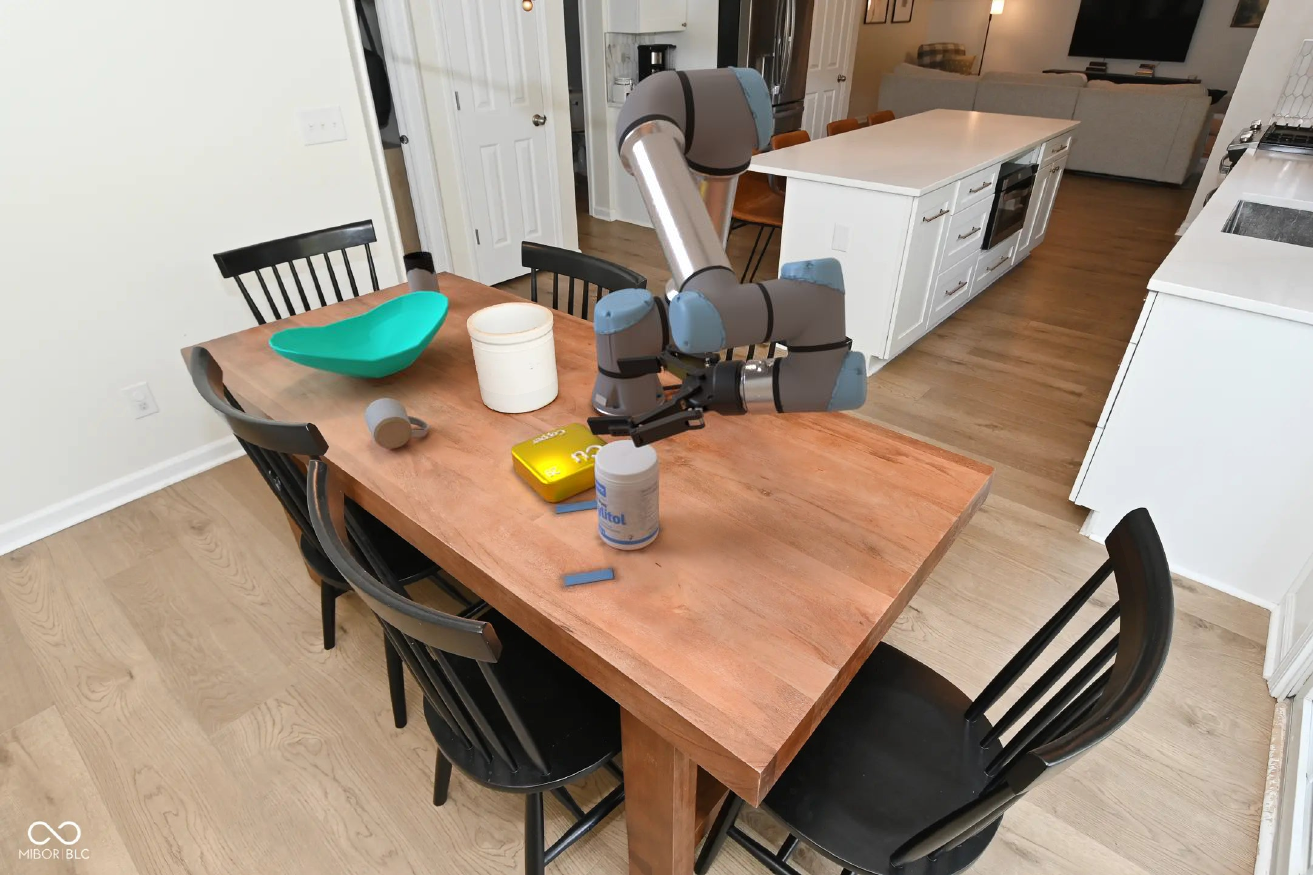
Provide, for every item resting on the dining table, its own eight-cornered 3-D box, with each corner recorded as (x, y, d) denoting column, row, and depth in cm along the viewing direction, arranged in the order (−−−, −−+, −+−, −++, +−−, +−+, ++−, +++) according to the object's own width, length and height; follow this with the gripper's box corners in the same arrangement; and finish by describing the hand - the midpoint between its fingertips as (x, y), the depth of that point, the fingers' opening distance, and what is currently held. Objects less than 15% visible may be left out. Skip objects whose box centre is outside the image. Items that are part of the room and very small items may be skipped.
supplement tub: (587, 541, 106) (580, 464, 98) (618, 507, 113) (613, 432, 105) (642, 560, 102) (638, 481, 94) (670, 523, 109) (669, 447, 101)
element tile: (580, 438, 132) (578, 417, 129) (624, 474, 121) (622, 451, 119) (510, 466, 124) (506, 444, 122) (550, 506, 114) (547, 483, 111)
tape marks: (597, 500, 115) (597, 500, 115) (613, 578, 99) (613, 577, 99) (555, 506, 114) (555, 505, 114) (565, 586, 98) (565, 585, 98)
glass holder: (409, 315, 187) (396, 261, 179) (420, 296, 199) (409, 245, 191) (441, 313, 188) (430, 259, 180) (450, 295, 200) (440, 244, 192)
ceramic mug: (378, 456, 128) (368, 421, 124) (369, 436, 134) (360, 402, 130) (434, 440, 133) (427, 406, 128) (423, 422, 139) (416, 388, 134)
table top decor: (316, 424, 139) (296, 366, 131) (268, 381, 155) (248, 327, 148) (483, 361, 162) (474, 308, 155) (426, 329, 179) (415, 280, 171)
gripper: (756, 312, 98) (623, 325, 106) (722, 428, 81) (566, 433, 89) (765, 354, 103) (637, 364, 111) (735, 472, 86) (586, 473, 94)
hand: (605, 395), depth 100 cm, fingers open, 13 cm apart
